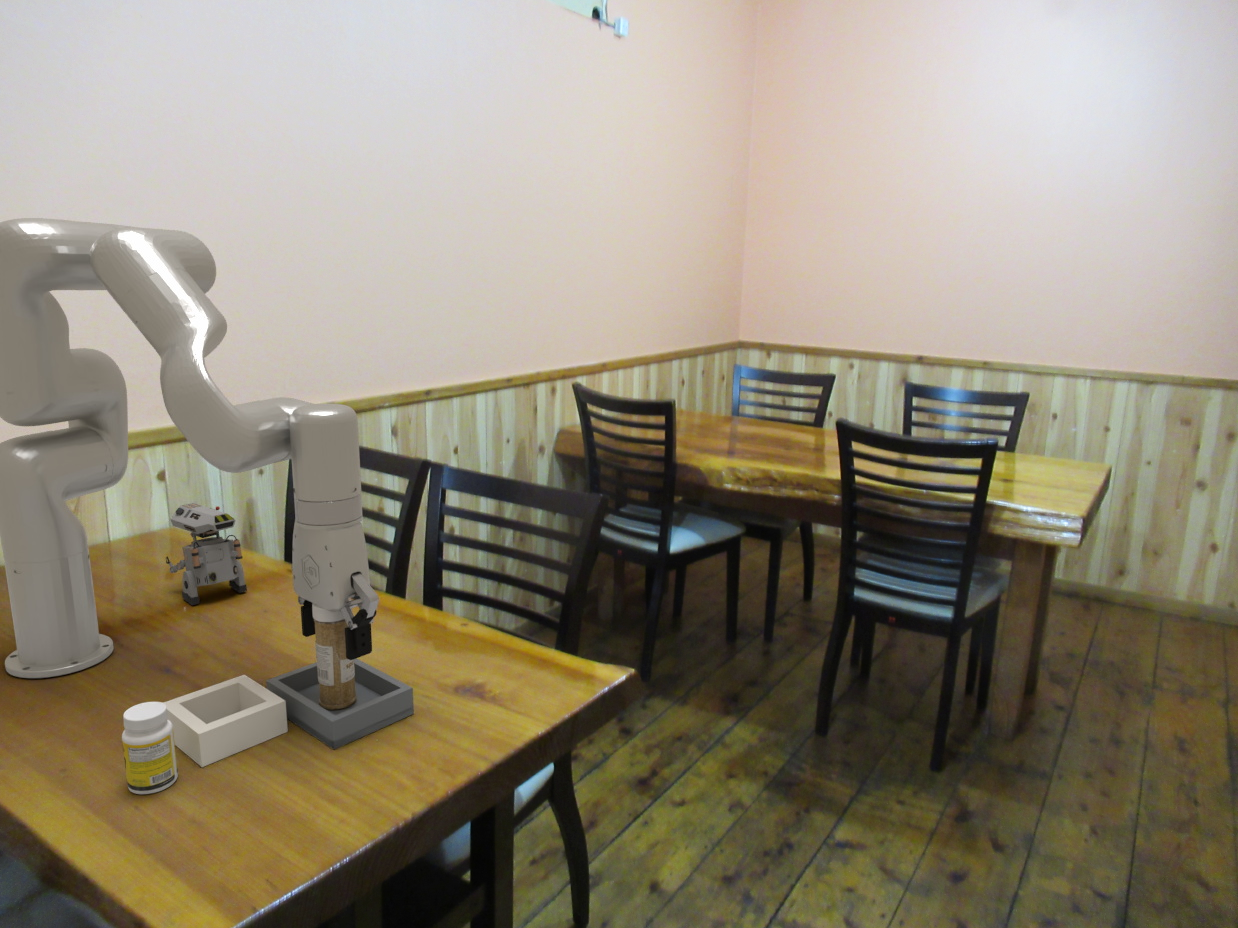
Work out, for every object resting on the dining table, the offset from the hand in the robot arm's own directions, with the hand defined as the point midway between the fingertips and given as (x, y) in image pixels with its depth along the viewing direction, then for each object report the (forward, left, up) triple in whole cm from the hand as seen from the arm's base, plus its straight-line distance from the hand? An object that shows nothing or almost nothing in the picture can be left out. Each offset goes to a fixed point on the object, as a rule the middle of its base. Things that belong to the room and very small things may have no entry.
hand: (336, 644), depth 103 cm
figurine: (-51, +7, -9) cm, 52 cm away
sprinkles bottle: (0, 0, -8) cm, 8 cm away
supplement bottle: (-1, -22, -9) cm, 23 cm away
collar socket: (-5, -12, -9) cm, 16 cm away
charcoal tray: (0, 0, -9) cm, 9 cm away
